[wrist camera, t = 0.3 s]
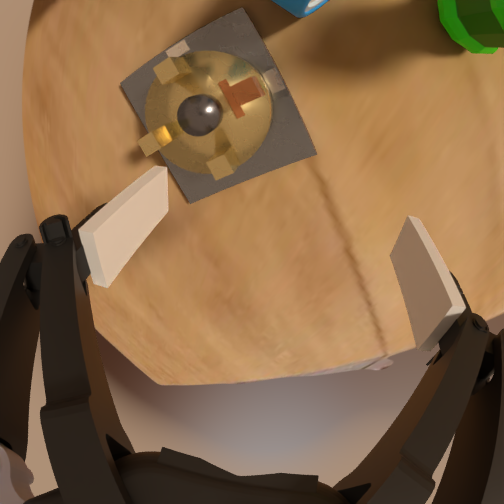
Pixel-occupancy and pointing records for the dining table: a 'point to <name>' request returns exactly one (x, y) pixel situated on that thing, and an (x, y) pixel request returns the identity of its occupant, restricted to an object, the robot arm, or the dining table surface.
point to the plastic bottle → (474, 23)
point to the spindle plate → (284, 108)
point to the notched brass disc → (207, 112)
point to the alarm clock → (300, 6)
